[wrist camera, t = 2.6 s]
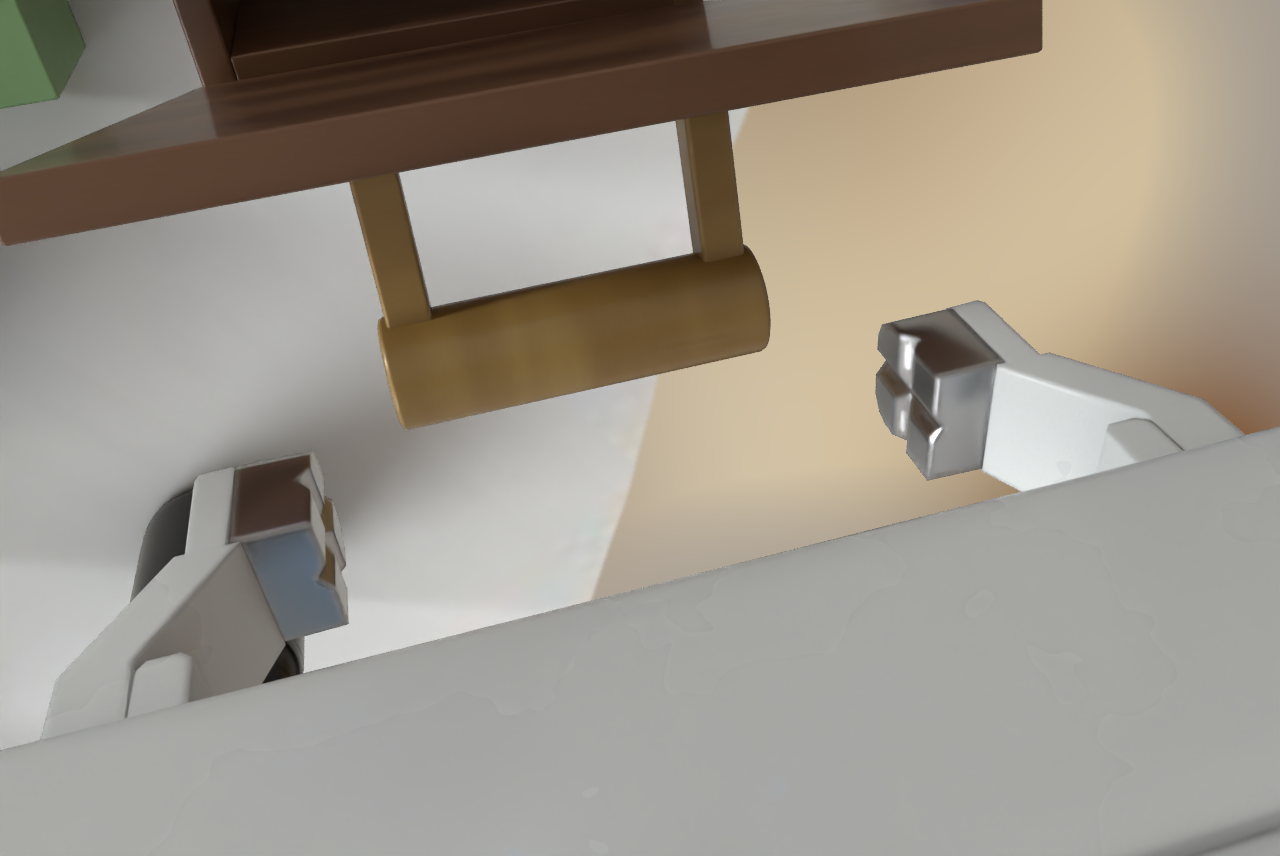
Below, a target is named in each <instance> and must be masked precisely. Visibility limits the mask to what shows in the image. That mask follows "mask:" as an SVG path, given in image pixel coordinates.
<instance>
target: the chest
mask: <svg viewBox="0 0 1280 856" xmlns="http://www.w3.org/2000/svg"><path fill="white" fill-rule="evenodd" d="M698 1H703V0H173V3H174V5H175V8H176V11H177V14H178V17H179V20H180V23H181V25H182V28H183V31H184V34H185V37H186V40H187V43H188V46H189V48H190V51H191V54H192V57H193V60H194V63H195V66H196V68H197V71H198V74H199V77H200V80H201V83H202V86H209V85H214V84H220V83H226V82H232V81H238V80H243V79H249V78H255V77H261V76H267V75H273V74H278V73H284V72H290V71H296V70H302V69H308V68H313V67H319V66H325V65H331V64H337V63H343V62H348V61H354V60H360V59H366V58H372V57H378V56H383V55H389V54H395V53H401V52H407V51H413V50H418V49H424V48H430V47H436V46H442V45H448V44H453V43H459V42H465V41H471V40H477V39H483V38H488V37H494V36H500V35H506V34H512V33H518V32H523V31H529V30H535V29H541V28H547V27H553V26H558V25H564V24H570V23H576V22H582V21H588V20H593V19H599V18H605V17H611V16H617V15H622V14H628V13H634V12H640V11H646V10H652V9H657V8H663V7H669V6H675V5H681V4H687V3H692V2H698Z"/></svg>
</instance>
